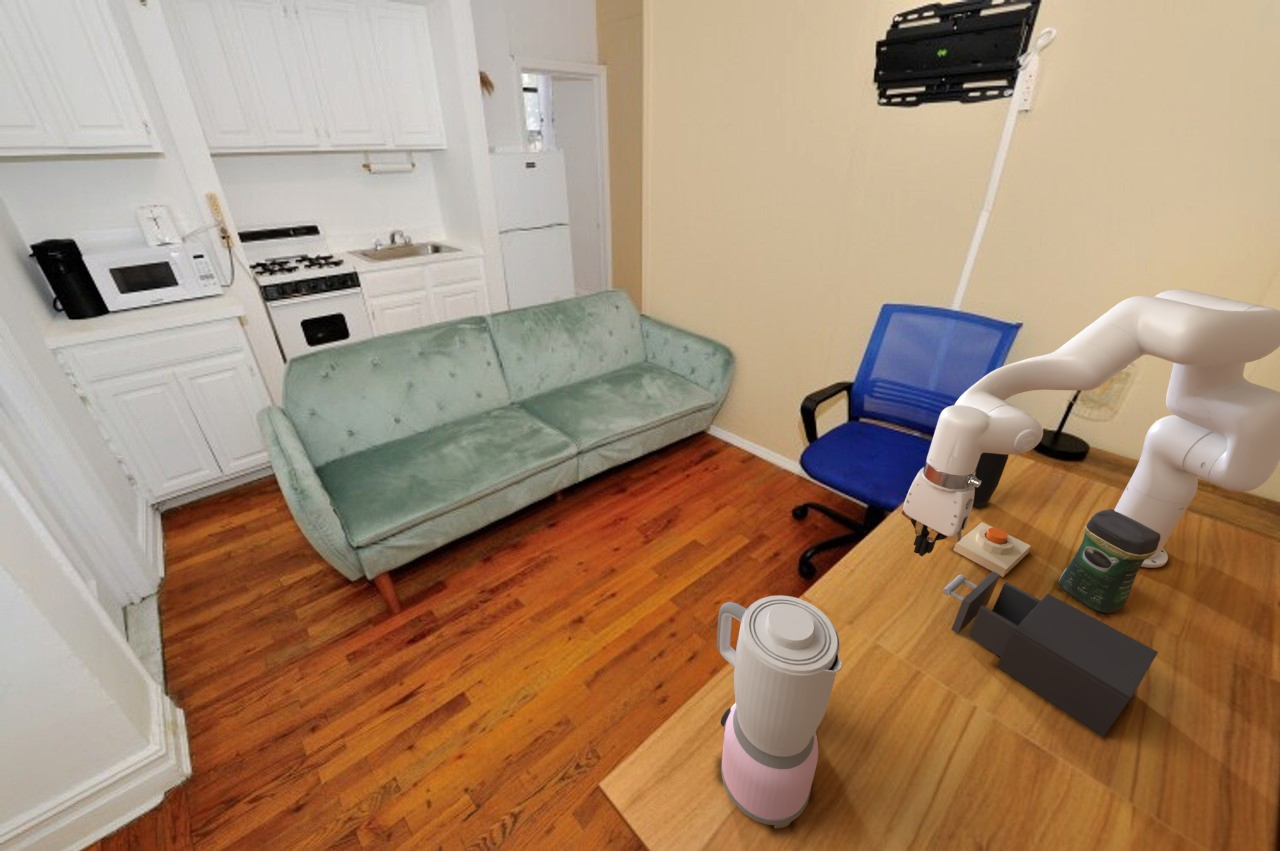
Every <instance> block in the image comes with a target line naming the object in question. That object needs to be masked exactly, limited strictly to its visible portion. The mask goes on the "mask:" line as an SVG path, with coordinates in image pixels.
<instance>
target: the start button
mask: <svg viewBox="0 0 1280 851" xmlns="http://www.w3.org/2000/svg"><path fill="white" fill-rule="evenodd" d="M1008 535H1009V534H1008V533H1007V532H1006V531H1005V530H1004V529H1002V528H999V527H993V528H989V529H988V531H987V534H986V538H987V539H988V540H989V541H991V542H993V543H996V544H1000V545H1002V544H1005V542H1006V540H1007V537H1008Z"/></svg>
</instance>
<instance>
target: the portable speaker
mask: <svg viewBox="0 0 1280 851" xmlns="http://www.w3.org/2000/svg"><path fill="white" fill-rule="evenodd" d="M1009 456H1010V455H1007V454H996V453H982V454H981V456H980V458H979V461H978V464H977V467H976V470H975V472H976V473H975V478H977V479H978V480H980V481H981V484H980V486H979V487H978V488H977V487H975V486H974V487H975V493H974V501H973V506H974V508H975V509H983V508H985V507H986V506H987V504H988V502H989V501H990V499H991V498H992V496H993V494H994V493H995V491H996V489H997V487H998V485H999V483H1000V482H1001V478H1002V476H1003V473H1004V471H1005V467H1006V465H1007V462H1008V460H1009Z"/></svg>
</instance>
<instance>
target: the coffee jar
mask: <svg viewBox="0 0 1280 851" xmlns="http://www.w3.org/2000/svg"><path fill="white" fill-rule="evenodd" d="M1160 537H1161V536H1160V534H1159V533H1158V532H1156V531H1154V530H1152V529H1151V528H1148V527H1147V526H1145V525H1143V524H1141V523H1139V522H1137V521H1135V520H1133V519H1131V518H1129V517H1127V516H1125V515H1123V514H1121V513H1118V512H1116V511H1115V510H1114V509H1113V508H1109V509H1104V510H1100V511H1097V512H1095V513H1094V514H1093V516H1091V518H1090V519H1089V521H1088V522H1087V523H1086V525H1085V526H1084V536H1083V539H1082V542H1081V544H1080V546H1079V547H1078V550H1077V552H1076V553H1075V554H1074V556H1073V558H1072V559H1071V560H1070V562H1069V564H1068V565H1067V566H1066V568H1065V569H1064V571H1063V572H1062V573H1061V575H1060V577H1059V580H1058V585H1059V587H1060V588H1061V589H1062V590H1063V591H1064V592H1065V593H1066V594H1068V595H1069V596H1070V597H1071V598H1073V599H1074V600H1076V601H1077V602H1079V603H1080V604H1082V605H1084V607H1087V608H1088V609H1090V610H1092V611H1094V612H1096V613H1102V614H1112V613H1116V612H1118V611H1120V610H1122V609H1123V608H1124V606H1125V604H1126V603H1127V600H1128V598H1129V595H1130V592H1131V590H1132V587H1133V584H1134V582H1135V579H1136V577H1137V575H1138V572H1139V570H1140V569H1141V567H1140V566H1141V565H1142V563H1143V562H1144V560H1145V559H1147V558H1149V557H1151V556H1152V555H1153V554H1154V553H1155V552H1156V550H1157V547H1158V544H1159V541H1160Z"/></svg>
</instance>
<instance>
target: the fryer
mask: <svg viewBox="0 0 1280 851" xmlns="http://www.w3.org/2000/svg"><path fill="white" fill-rule="evenodd" d="M1040 600H1041V601H1040V602H1039V603H1038V604H1037V606H1036V607H1035V608H1034V609H1033V610H1032V611H1031V612H1030V613H1029V614H1028V615H1027V617H1026V618H1025V619H1024V620H1023V621H1022V622H1021V623H1020V624H1019V625H1018V627H1017V628H1016V629H1015V631H1014V633H1013V635H1012V637H1011V639H1010V641H1009V644H1008V646H1007V648H1006V650H1005V652H1004V654H1003V656H1002V658H1001V657H1000V660H999V662H998V664H997V668H998V669H999V670H1001V671H1002V672H1004V673H1005V674H1007V675H1009V676H1010V677H1011V678H1013V679H1014V680H1016V681H1018V682H1019V683H1020V684H1022V685H1024V686H1025V687H1026V688H1028V689H1029V690H1031V691H1032V692H1034V693H1036V694H1037V695H1038V696H1039V697H1041V698H1044V699H1045V701H1047V702H1048V703H1051V704H1052V705H1053V706H1055V707H1056V708H1058V709H1059V710H1061V711H1062V712H1064V713H1066V714H1067V715H1069V716H1070V717H1072V718H1073V719H1075V720H1076V721H1078V722H1079V723H1081V724H1082V725H1084V726H1085V727H1086V728H1088V729H1090V730H1091V731H1093V732H1094V733H1096V734H1098V736H1100V737H1102V738H1104V737H1105V736H1106V734H1107V733H1108V732H1109V730H1110V729H1111V728H1112V726H1113V724H1114V723H1115V722H1116V720H1117V719H1118V717H1119V716H1120V714H1121V713H1122V712H1123V710H1124V709H1125V708H1126V706H1127V704H1128V703H1129V702H1130V700H1131V699H1132V698H1133V696H1134V694H1135V693H1136V691H1137V689H1138V688H1139V686H1140V684H1141V682H1142V680H1143V678H1145V675H1146V674H1147V672H1148V670H1149V669H1150V667H1151V665H1152V663H1153V662H1154V661H1155V658H1156V656H1157V655H1158V653H1159V651H1158V650H1155V649H1154V648H1151V647H1150V646H1148V645H1146V644H1144V643H1142V642H1140V641H1138V640H1136V639H1134V638H1133V637H1131V636H1129V635H1127V634H1126V633H1123V632H1122V631H1119V630H1118V629H1116V628H1114V627H1112V626H1110V625H1108V624H1107V623H1105V622H1102V621H1100V620H1098V619H1097V618H1095V617H1093V616H1091V615H1090V614H1088V613H1085V612H1083V611H1082V610H1080V609H1079V608H1076V607H1074V606H1072V605H1071V604H1068V603H1067V602H1065V601H1062V600H1061V599H1060V598H1057V597H1055V596H1053V595H1052V594H1049V593H1047V594H1045V595H1044V596H1043V598H1042V599H1040Z"/></svg>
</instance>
